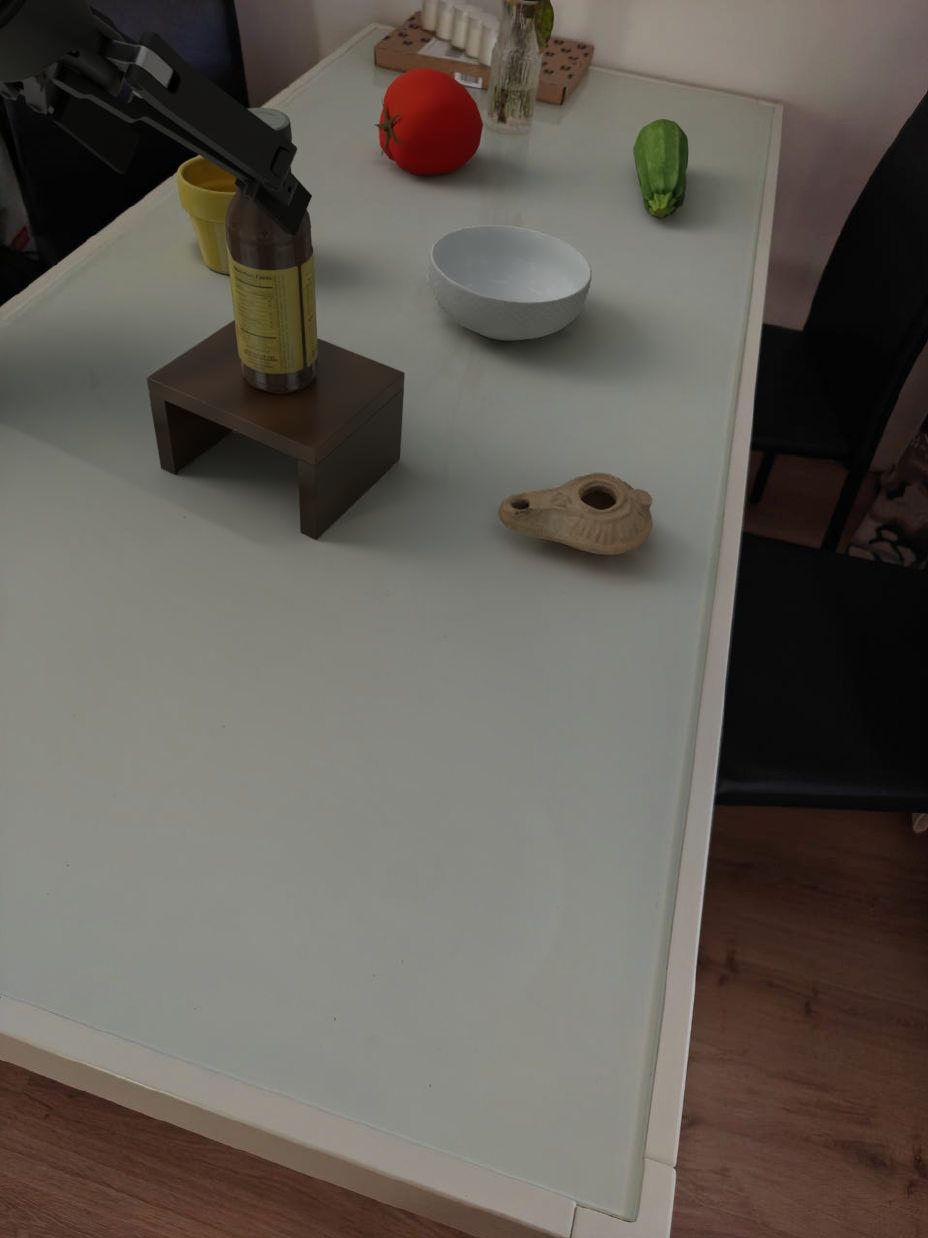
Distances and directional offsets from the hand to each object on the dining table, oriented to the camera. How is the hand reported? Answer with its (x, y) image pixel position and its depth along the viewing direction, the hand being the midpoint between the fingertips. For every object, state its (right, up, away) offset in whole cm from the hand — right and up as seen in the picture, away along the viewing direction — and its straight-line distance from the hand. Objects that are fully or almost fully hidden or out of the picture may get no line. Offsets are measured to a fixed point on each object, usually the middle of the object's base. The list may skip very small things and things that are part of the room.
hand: (211, 183), depth 64 cm
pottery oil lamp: (+25, -21, +20) cm, 38 cm away
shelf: (+1, -15, +23) cm, 27 cm away
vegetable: (+42, +28, +69) cm, 85 cm away
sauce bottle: (+1, -9, +16) cm, 18 cm away
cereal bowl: (+20, +4, +43) cm, 48 cm away
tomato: (+11, +32, +68) cm, 76 cm away
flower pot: (-9, +12, +46) cm, 49 cm away
